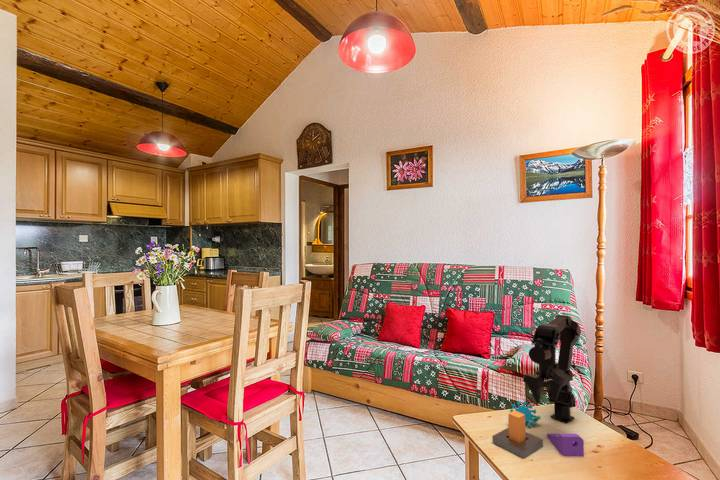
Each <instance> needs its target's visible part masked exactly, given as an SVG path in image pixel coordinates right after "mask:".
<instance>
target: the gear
mask: <svg viewBox="0 0 720 480" xmlns="http://www.w3.org/2000/svg"><path fill="white" fill-rule="evenodd" d="M527 404H528V403H527V402H526V401H523V402H522V405H521V401H516V404H515V403H512V405H511V407H512V408H510V409H509V410H510V411H509V413H511V412H513V411H517V412H520V413H522V414H525V423H527V425H526V427H527V428H531V427H532V426H535V425H536V424H537V422H538V421H539V420H541V419H542V417H541V415H536V414H537V410H536V409H533V410H532V408H533V405H532V404H531V403H530V404H528V406H526V405H527ZM516 405H517V407H516ZM520 405H521V406H520ZM534 414H535V415H534ZM530 421H531V422H530ZM531 423H532V424H531Z"/></svg>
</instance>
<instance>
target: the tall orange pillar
mask: <svg viewBox="0 0 720 480" xmlns="http://www.w3.org/2000/svg"><path fill="white" fill-rule="evenodd" d="M507 415H508V417H507V418H508V419H507V420H508V427H509V439H511V440H513V441H515V442H517V443H519V444H521V443H522V442H524V441H526V433H525V432H526V422H525V414H522V413H520V412H517V411H516V410H514V411H513V412H508V414H507Z"/></svg>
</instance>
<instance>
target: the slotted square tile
mask: <svg viewBox="0 0 720 480" xmlns="http://www.w3.org/2000/svg"><path fill="white" fill-rule="evenodd" d="M525 433H526V441H524V442H522V443H521V444H519V443H517V442H515V441H513V440H511V439H509V426H508V427H507V428H504V429H503V430H500V432H497V433H495V434H494V435H492V436H491V437H492V444H494V445H495V446H498V447H499V448H502V449H504V450H506V451H508V452H510V453H511V454H513V455H516V456H517V457H519V458H521V459H526V458H528V457H529V456H530V455H532V454H534V453H536V451H538V450H539V449H541V448H543V447H544V445H543V444H544V443H543V441H544V440H543V439H542V438H540V437H538V436H536V435H534V434H531V433H529V432H527V431H525Z"/></svg>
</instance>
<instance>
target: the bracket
mask: <svg viewBox="0 0 720 480" xmlns="http://www.w3.org/2000/svg"><path fill="white" fill-rule="evenodd" d="M546 438H547V439H548V440H549V441H550V443H552V445H553V446H554V447H555V448H556V449H557V451H558V452H559V453H560V454H561V456H562V457H585V450H584V449H585V447H584V446H585V445H584V439H583V438H582V437H581V436H580V435H579V434H577V433H546Z"/></svg>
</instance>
